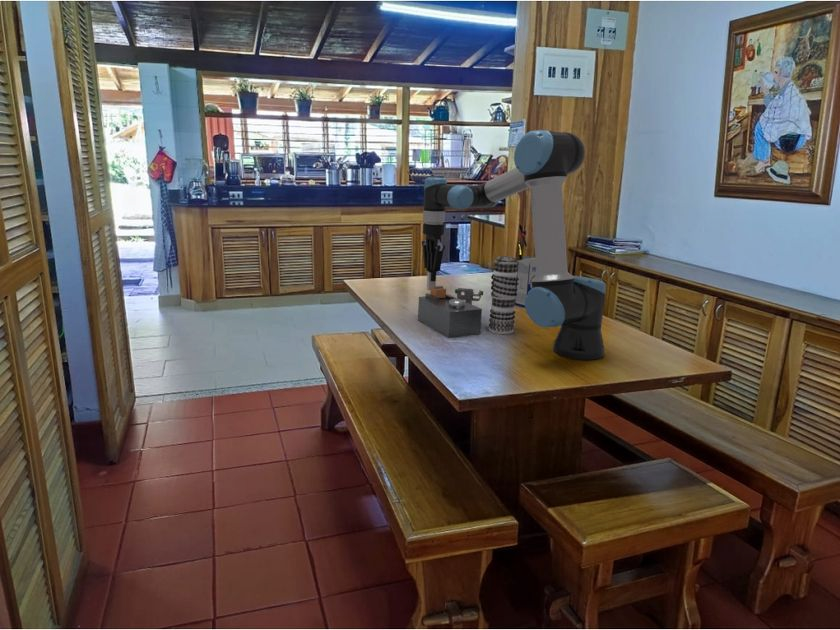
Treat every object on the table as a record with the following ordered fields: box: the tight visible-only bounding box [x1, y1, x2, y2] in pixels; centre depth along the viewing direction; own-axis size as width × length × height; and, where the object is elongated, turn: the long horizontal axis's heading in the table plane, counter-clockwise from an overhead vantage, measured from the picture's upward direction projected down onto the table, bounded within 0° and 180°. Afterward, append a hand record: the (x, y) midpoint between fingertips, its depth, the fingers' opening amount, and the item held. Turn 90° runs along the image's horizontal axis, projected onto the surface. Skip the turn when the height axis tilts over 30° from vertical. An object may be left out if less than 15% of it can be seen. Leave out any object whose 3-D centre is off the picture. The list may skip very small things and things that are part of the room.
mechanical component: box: [454, 287, 484, 305], centre depth 213 cm, size 3×10×10 cm, turn 78°
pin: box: [449, 299, 465, 308], centre depth 194 cm, size 5×5×10 cm
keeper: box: [429, 285, 447, 298], centre depth 204 cm, size 4×4×4 cm
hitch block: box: [417, 293, 483, 339], centre depth 198 cm, size 22×12×10 cm, turn 27°
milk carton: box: [514, 255, 536, 309], centre depth 231 cm, size 7×7×20 cm
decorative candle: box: [488, 255, 519, 335], centre depth 194 cm, size 9×9×25 cm
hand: (431, 289), depth 208 cm, fingers closed
